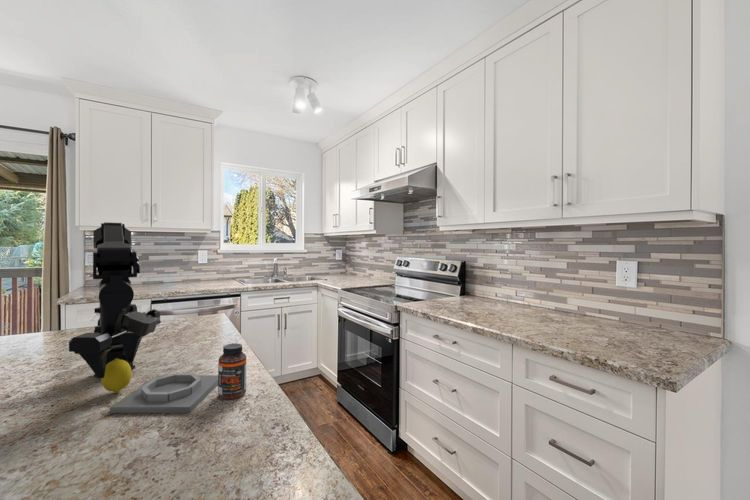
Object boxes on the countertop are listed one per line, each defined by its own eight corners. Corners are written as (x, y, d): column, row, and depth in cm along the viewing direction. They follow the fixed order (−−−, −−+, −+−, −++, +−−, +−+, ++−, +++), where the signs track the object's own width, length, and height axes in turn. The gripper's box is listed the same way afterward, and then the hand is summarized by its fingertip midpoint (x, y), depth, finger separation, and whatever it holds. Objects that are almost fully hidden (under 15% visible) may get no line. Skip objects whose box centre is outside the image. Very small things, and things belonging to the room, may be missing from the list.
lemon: (115, 399, 74) (114, 363, 74) (95, 397, 76) (94, 361, 75) (137, 388, 80) (137, 355, 80) (118, 386, 81) (117, 353, 81)
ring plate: (109, 413, 69) (109, 399, 69) (157, 380, 85) (157, 369, 85) (189, 412, 69) (189, 399, 69) (222, 380, 85) (222, 369, 85)
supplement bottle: (218, 403, 74) (218, 351, 73) (217, 391, 79) (217, 343, 78) (248, 397, 76) (247, 347, 76) (244, 387, 82) (244, 340, 81)
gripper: (122, 311, 68) (123, 387, 69) (174, 295, 87) (175, 355, 87) (65, 310, 68) (67, 387, 68) (130, 294, 86) (131, 355, 87)
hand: (116, 369), depth 78 cm, fingers open, 9 cm apart
